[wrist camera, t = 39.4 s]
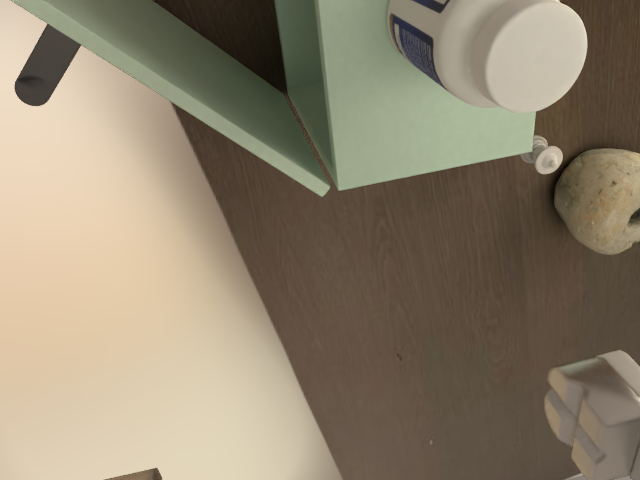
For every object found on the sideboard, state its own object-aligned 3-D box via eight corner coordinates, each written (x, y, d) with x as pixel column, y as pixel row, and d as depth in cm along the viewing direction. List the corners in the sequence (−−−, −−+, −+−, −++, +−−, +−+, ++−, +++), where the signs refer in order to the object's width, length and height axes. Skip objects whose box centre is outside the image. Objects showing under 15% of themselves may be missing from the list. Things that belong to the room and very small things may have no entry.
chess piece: (525, 101, 53) (590, 142, 44) (508, 146, 55) (567, 192, 47) (483, 95, 52) (542, 136, 43) (468, 141, 54) (521, 188, 45)
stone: (543, 261, 58) (618, 235, 49) (531, 166, 61) (600, 125, 52) (622, 265, 61) (707, 242, 52) (608, 174, 64) (686, 137, 55)
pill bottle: (466, 72, 31) (570, 139, 23) (373, 57, 29) (448, 123, 21) (501, -38, 28) (632, -6, 20) (400, -60, 27) (498, -36, 18)
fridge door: (237, 156, 49) (263, 270, 35) (29, 27, 41) (-53, 106, 26) (283, 93, 47) (331, 187, 33) (74, -56, 39) (12, -20, 24)
